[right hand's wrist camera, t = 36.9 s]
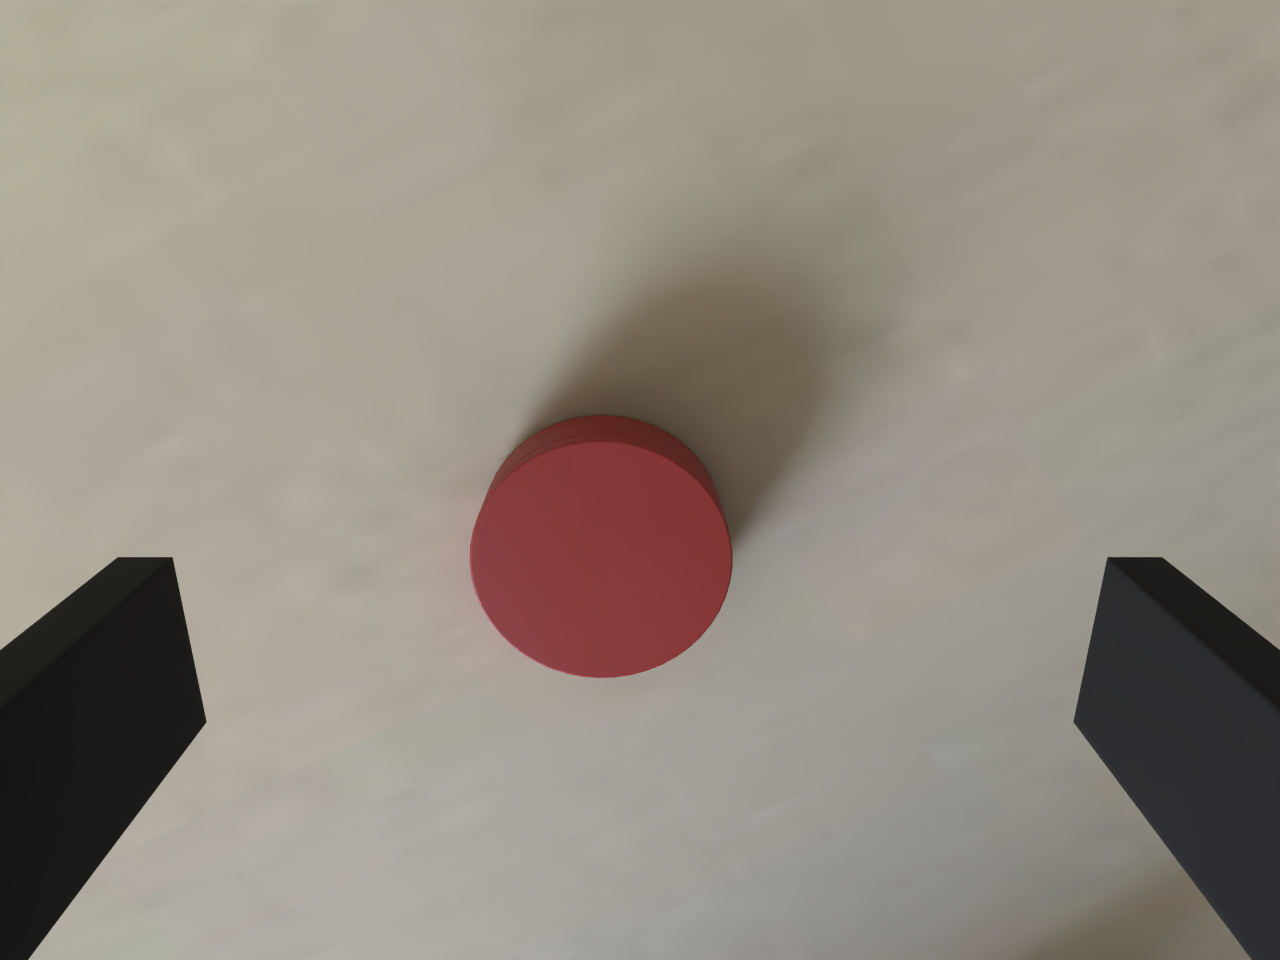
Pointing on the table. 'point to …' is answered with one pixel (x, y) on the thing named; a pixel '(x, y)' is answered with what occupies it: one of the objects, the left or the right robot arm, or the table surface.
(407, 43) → the table surface
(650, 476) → the lid
